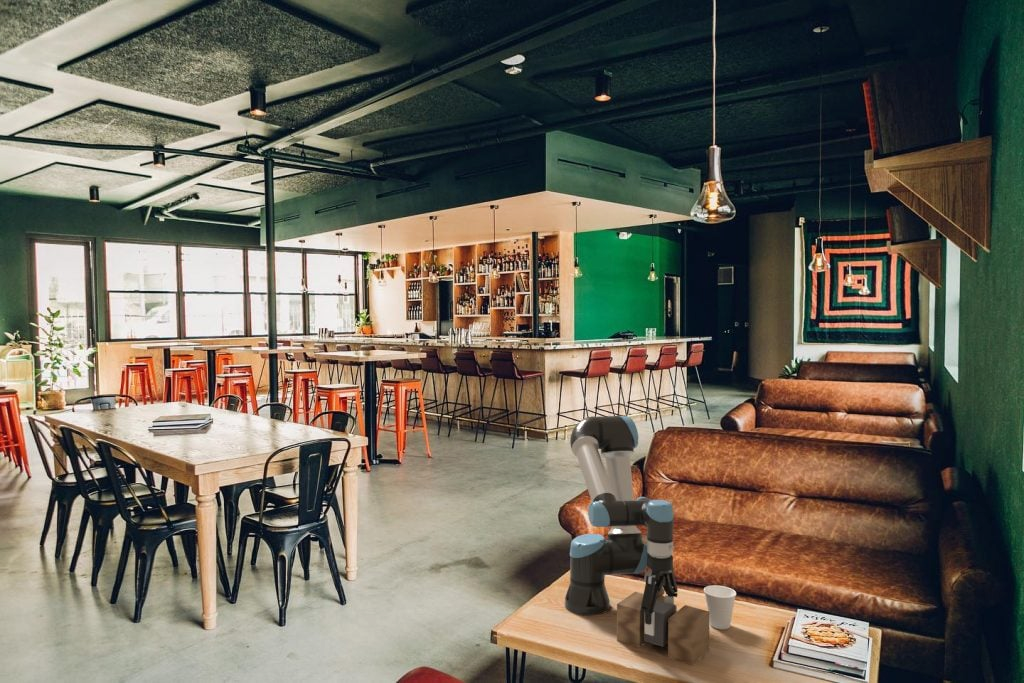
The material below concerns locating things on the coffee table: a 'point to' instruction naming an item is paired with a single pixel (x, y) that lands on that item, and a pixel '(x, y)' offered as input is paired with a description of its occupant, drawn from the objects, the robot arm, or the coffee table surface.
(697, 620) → the wooden block dumbbell
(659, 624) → the slotted gray cube
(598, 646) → the coffee table surface
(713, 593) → the cup
